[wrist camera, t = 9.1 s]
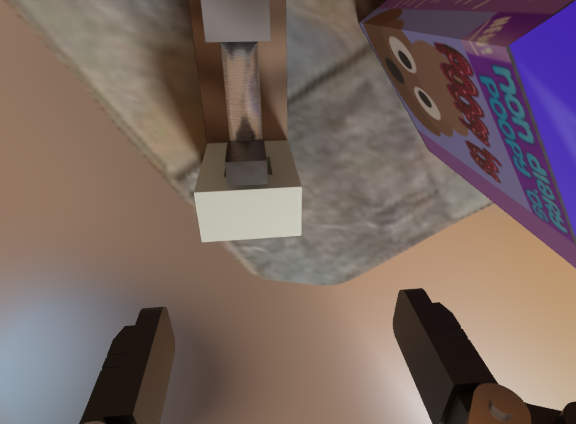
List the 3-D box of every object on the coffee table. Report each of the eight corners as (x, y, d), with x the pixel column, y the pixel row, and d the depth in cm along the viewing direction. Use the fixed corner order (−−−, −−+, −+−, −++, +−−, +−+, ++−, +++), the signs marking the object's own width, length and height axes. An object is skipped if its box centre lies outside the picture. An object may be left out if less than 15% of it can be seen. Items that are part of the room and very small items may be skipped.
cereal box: (358, 22, 36) (508, 47, 15) (399, -11, 35) (620, -31, 14) (428, 150, 44) (589, 278, 23) (463, 126, 43) (664, 240, 22)
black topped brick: (217, 9, 29) (208, 11, 22) (256, 8, 29) (260, 10, 22) (234, 187, 37) (232, 228, 30) (265, 185, 37) (269, 226, 30)
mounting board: (177, -93, 30) (149, -133, 21) (283, -92, 31) (299, -130, 22) (214, 191, 44) (206, 239, 35) (287, 187, 45) (297, 233, 36)
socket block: (207, 143, 40) (193, 192, 29) (287, 140, 40) (301, 186, 30) (212, 183, 42) (201, 242, 32) (287, 179, 43) (301, 235, 33)
